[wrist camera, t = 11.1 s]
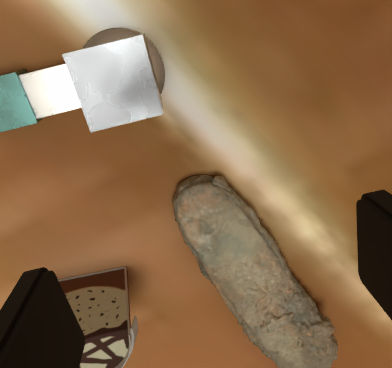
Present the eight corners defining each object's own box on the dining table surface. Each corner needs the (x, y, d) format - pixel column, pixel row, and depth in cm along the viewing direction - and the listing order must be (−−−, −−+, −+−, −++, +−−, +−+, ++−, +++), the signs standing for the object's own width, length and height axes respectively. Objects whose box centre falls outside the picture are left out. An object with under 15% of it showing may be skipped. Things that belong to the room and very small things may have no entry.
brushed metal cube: (144, 33, 27) (142, 34, 22) (161, 98, 29) (163, 114, 24) (80, 49, 27) (62, 54, 22) (102, 113, 29) (90, 132, 24)
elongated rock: (227, 146, 36) (149, 192, 38) (234, 163, 31) (144, 215, 33) (347, 347, 49) (284, 374, 50) (366, 381, 44) (295, 410, 46)
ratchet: (151, 19, 29) (151, 16, 23) (172, 100, 32) (177, 118, 26) (-40, 66, 29) (-94, 76, 22) (-1, 143, 32) (-40, 172, 25)
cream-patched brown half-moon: (49, 324, 41) (19, 407, 32) (30, 284, 39) (-7, 363, 29) (150, 303, 42) (150, 380, 33) (139, 263, 39) (135, 334, 30)
